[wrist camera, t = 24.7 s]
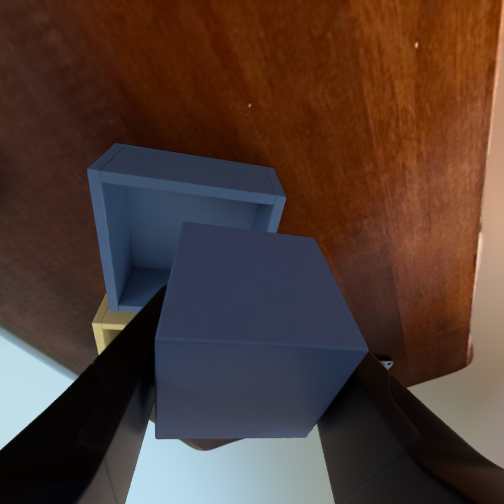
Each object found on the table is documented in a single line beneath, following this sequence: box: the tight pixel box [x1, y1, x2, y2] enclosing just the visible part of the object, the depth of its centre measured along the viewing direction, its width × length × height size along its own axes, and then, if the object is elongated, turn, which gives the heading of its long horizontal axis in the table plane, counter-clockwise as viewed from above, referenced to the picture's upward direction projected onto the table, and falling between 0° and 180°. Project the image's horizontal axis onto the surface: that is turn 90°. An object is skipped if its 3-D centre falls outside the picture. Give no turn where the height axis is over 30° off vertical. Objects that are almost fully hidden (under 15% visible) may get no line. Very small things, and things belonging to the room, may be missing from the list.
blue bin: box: [87, 143, 286, 312], centre depth 18 cm, size 10×10×4 cm
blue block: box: [155, 221, 368, 439], centre depth 9 cm, size 4×4×4 cm
